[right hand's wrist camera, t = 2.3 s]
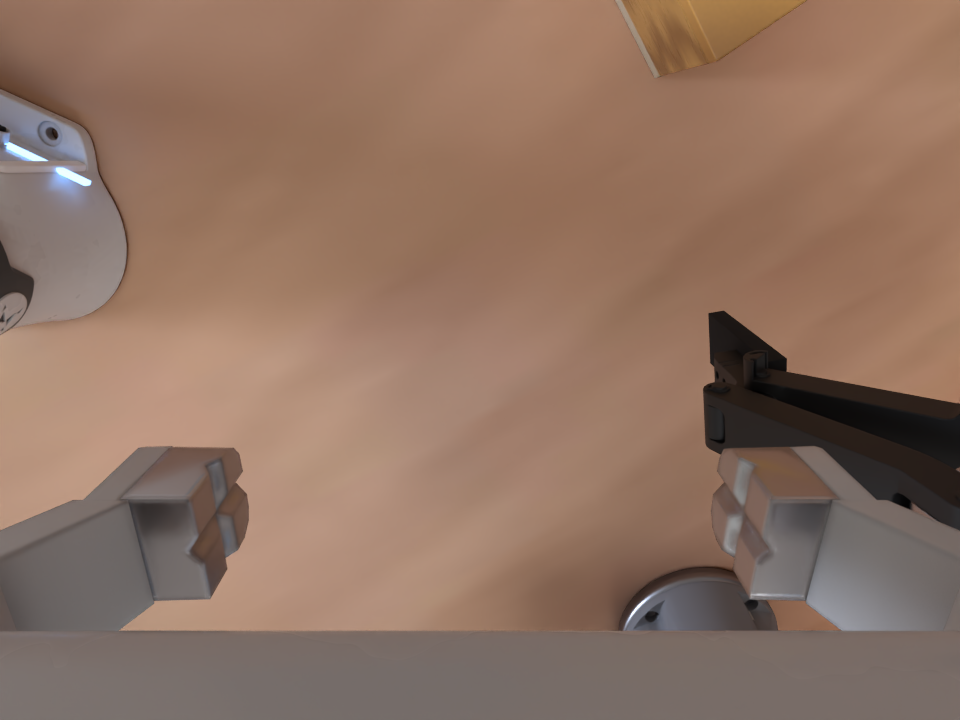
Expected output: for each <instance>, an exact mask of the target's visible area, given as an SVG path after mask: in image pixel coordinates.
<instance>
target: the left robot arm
mask: <svg viewBox="0 0 960 720" xmlns="http://www.w3.org/2000/svg"><path fill="white" fill-rule="evenodd" d="M709 338H710V363H711V364H712V365H713V366H714V371H715V383H710V384H708V385H706V386H704V388H703V397H704V420H705V443H706V446H707V447H708V448H709V449H711V450H713V451H715V452H717V453H719V454H722V452H723V450H724V449H729V448H759V447H801V446H816V447H819V448H822V449H823V450H824V451H826V452H827V453H828V454H829V455H830V456H831V457H832V458H833V459H834V460H835V461H836V462H837V463H838V464H839V465H840V466H841V467H842V468H844V469H845V470H846V471H847V472H848V473H849V474H850V475H851V476H852V477H853V478H854V479H855V480H856V481H857V482H858V483H859V484H860V485H862V486H863V487H864V488H865V489H866V490H867V491H868V492H869V493H870V494H871V495H872V496H873V497H874V498H875V499H876V500H888V501H890V502H893V503H895V504H897V505H900V506H902V507H905V508H907V509H909V510H912V511H914V512H917V513H919V514H921V515H924V516H926V517H928V518H931V519H933V520H936V521H938V522H940V523H943V524H945V525H948V526H950V527H952V528H955V529H957V530H959V531H960V404H959V403H952V402H946V401H941V400H936V399H930V398H925V397H919V396H914V395H909V394H903V393H898V392H892V391H887V390H882V389H876V388H871V387H865V386H860V385H855V384H849V383H844V382H839V381H833V380H828V379H822V378H817V377H812V376H806V375H801V374H795V373H790V372H786V370H787V358H785V357H784V356H783V355H781V354H780V353H779V352H777V351H776V350H775V349H773V348H772V347H771V346H769V345H768V344H767V343H766V342H764V341H763V340H762V339H760V338H759V337H758V336H756V335H755V334H754V333H752V332H751V331H750V330H748V329H747V328H746V327H745V326H743V325H742V324H741V323H739V322H738V321H737V320H735V319H734V318H733V317H731V316H730V315H729V314H727V313H726V312H725V311H719V312H713V313H709ZM619 631H778V627H777V621H776V618H775V615H774V613H773V611H772V609H771V607H770V606H769V604H768V602H767V601H766V600H761V599H750V598H749V596H748V595H747V593H746V591H745V589H744V588H743V586H742V584H741V583H740V581H739V579H738V577H737V576H736V574H735V573H733V572H730V571H727V570H723V569H717V568H691V569H685V570H681V571H677V572H674V573H670V574H668V575H665V576H663V577H661V578H659V579H657V580H655V581H653V582H652V583H650V584H648V585H647V586H646V587H644V588H643V589H642V590H641V591H639V592H638V593H637V594H636V595H635V596H634V597H633V599H632V600H631V601H630V602H629V604H628V605H627V607H626V608H625V610H624V612H623V615H622V617H621V621H620V625H619Z"/></svg>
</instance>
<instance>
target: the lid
mask: <svg viewBox="0 0 960 720" xmlns="http://www.w3.org/2000/svg"><path fill="white" fill-rule="evenodd" d="M805 1H807V0H679V2H680V4H681V6H682V8H683V10H684V12H685V15H686V17H687V19H688V21H689V23H690V25H691V27H692V29H693V31H694V33H695V36H696V38H697V40H698V42H699V44H700V46H701V48H702V50H703V52H704V55H705V57H706V59H707V61H708V63H712V62H716V61H718V60H720V59H721V58H723V57H724V56H726V55H727V54H729V53H730V52H732V51H733V50H735V49H736V48H738V47H739V46H741V45H742V44H743V43H745V42H746V41H748V40H749V39H751V38H752V37H754V36H755V35H757V34H758V33H760V32H761V31H763V30H764V29H766V28H767V27H769V26H770V25H771V24H773V23H774V22H776V21H777V20H779V19H780V18H782V17H783V16H785V15H786V14H788V13H789V12H791V11H792V10H794V9H795V8H797V7H798V6H799V5H801V4H802V3H804V2H805Z"/></svg>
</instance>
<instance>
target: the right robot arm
mask: <svg viewBox="0 0 960 720" xmlns="http://www.w3.org/2000/svg"><path fill="white" fill-rule="evenodd" d="M53 128H54V129H55V130H56V131H57V133H58V138H57V139H56V138H55V137H54V136H53V134H52V130H53ZM126 258H127V244H126V236H125V231H124V227H123V223H122V220H121V217H120V214H119V212H118V210H117V207H116V205H115V203H114V201H113V199H112V198H111V196H110V194H109V192H108V191H107V189H106V187H105V185H104V184H103V182H102V180H101V178H100V175H99V173H98V167H97V161H96V155H95V151H94V146H93V143H92V140H91V137H90V135H89V134H88V132H87V131H86V130H85V129H84V128H83V127H82V126H80V125H79V124H77V123H75V122H73V121H70V120H68V119H66V118H64V117H62V116H59V115H57V114H55V113H53V112H50V111H48V110H46V109H44V108H42V107H39V106H37V105H35V104H33V103H31V102H28V101H26V100H24V99H22V98H19V97H17V96H15V95H13V94H11V93H8V92H6V91H4V90H2V89H0V335H1V334H3V333H4V332H6V331H8V330H9V329H13V328H17V327H21V326H25V325H31V324H36V323H42V322H50V321H62V320H70V319H75V318H79V317H82V316H85V315H87V314H90V313H92V312H93V311H95V310H97V309H98V308H100V307H101V306H102V305H104V304H105V303H106V302H107V301H108V300H109V299H110V298H111V297H112V295H113V294H114V293H115V291H116V290H117V288H118V286H119V284H120V282H121V280H122V277H123V274H124V270H125V266H126ZM242 472H243V470H242V465H241V460H240V455H239V453H238V452H237V451H236V450H235V449H234V448H218V447H172V446H156V447H141V448H138V449H137V450H136V451H135V452H134V453H133V454H132V455H130V456H129V457H128V458H127V459H126V460H125V461H124V462H123V463H122V464H121V465H120V466H119V467H118V468H117V469H116V470H115V471H113V472H112V473H111V474H110V475H109V476H108V477H107V478H106V479H105V480H104V481H103V482H102V483H101V484H100V485H99V486H98V487H96V488H95V489H94V490H93V491H92V492H91V493H90V494H89V495H88V496H87V497H86V498H85V499H84V500H72V501H70V502H67V503H65V504H63V505H60V506H58V507H55V508H53V509H51V510H48V511H46V512H43V513H41V514H39V515H36V516H34V517H31V518H29V519H27V520H24V521H22V522H20V523H17V524H15V525H12V526H10V527H8V528H5V529H3V530H0V720H960V531H959V530H957V529H955V528H952V527H950V526H948V525H945V524H943V523H940V522H938V521H936V520H933V519H931V518H928V517H926V516H924V515H921V514H919V513H917V512H914V511H912V510H909V509H907V508H905V507H902V506H900V505H897V504H895V503H893V502H890V501H888V500H876V499H875V498H874V497H873V496H872V495H871V494H870V493H869V492H868V491H867V490H866V489H865V488H864V487H863V486H862V485H860V484H859V483H858V482H857V481H856V480H855V479H854V478H853V477H852V476H851V475H850V474H849V473H848V472H847V471H846V470H845V469H844V468H842V467H841V466H840V465H839V464H838V463H837V462H836V461H835V460H834V459H833V458H832V457H831V456H830V455H829V454H828V453H827V452H826V451H824V450H823V449H822V448H819V447H816V446H801V447H759V448H729V449H724V450H723V452H722V454H721V456H720V459H719V464H718V469H717V472H718V473H719V475H720V476H721V478H722V479H723V481H724V483H723V484H722V485H721V486H720V488H719V489H718V490H717V491H716V492H715V493H714V494H713V500H712V507H711V516H712V527H713V531H714V534H715V537H716V540H717V542H718V544H719V545H720V547H721V549H722V550H723V551H725V552H726V553H728V554H729V555H731V556H732V557H734V558H735V559H734V564H733V570H734V572H735V574H736V576H737V577H738V579H739V581H740V583H741V584H742V586H743V588H744V589H745V591H746V593H747V595H748V596H749V598H750V599H761V600H798V601H806V604H807V605H809V606H810V607H811V608H813V609H814V610H815V611H817V612H818V613H819V614H821V615H822V616H823V617H825V618H826V619H827V620H828V621H830V622H831V623H832V624H834V625H835V626H836V627H838V628H839V629H840V630H842V631H119V630H120V629H121V628H123V627H124V626H125V625H126V624H128V623H129V622H130V621H132V620H133V619H134V618H136V617H137V616H138V615H140V614H141V613H142V612H144V611H145V610H146V609H148V608H149V607H150V606H151V605H153V604H154V601H162V600H198V599H210V598H211V597H212V595H213V593H214V591H215V590H216V588H217V586H218V584H219V583H220V581H221V579H222V577H223V576H224V574H225V572H226V570H227V564H226V559H225V558H226V557H228V556H229V555H231V554H232V553H234V552H235V551H237V550H238V549H239V547H240V545H241V543H242V542H243V540H244V538H245V534H246V530H247V525H248V521H249V505H248V499H247V494H246V493H245V492H244V491H243V490H242V489H241V488H240V486H239V485H238V484H237V483H236V481H237V479H238V478H239V476H240V475H241V473H242Z"/></svg>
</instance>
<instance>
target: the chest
mask: <svg viewBox="0 0 960 720" xmlns="http://www.w3.org/2000/svg"><path fill="white" fill-rule="evenodd" d="M615 1H616V3H617V5H618V7H619V9H620V11H621V13H622V15H623V17H624V19H625V21H626V23H627V25H628V27H629V29H630V30H631V32H632V34H633V36H634V38H635V40H636V42H637V44H638V46H639V48H640V50H641V52H642V54H643V56H644V58H645V60H646V62H647V64H648V66H649V68H650V70H651V72H652V74H653V76H654V78H657V77H661V76H663V75H667V74H670V73H674V72H678V71H682V70H686V69H690V68H693V67H697V66H701V65H705V64H709V63H708V61H707V59H706V57H705V55H704V52H703V50H702V48H701V46H700V44H699V42H698V40H697V38H696V36H695V33H694V31H693V29H692V27H691V25H690V23H689V21H688V19H687V17H686V15H685V12H684V10H683V8H682V6H681V4H680V2H679V0H615Z"/></svg>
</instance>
